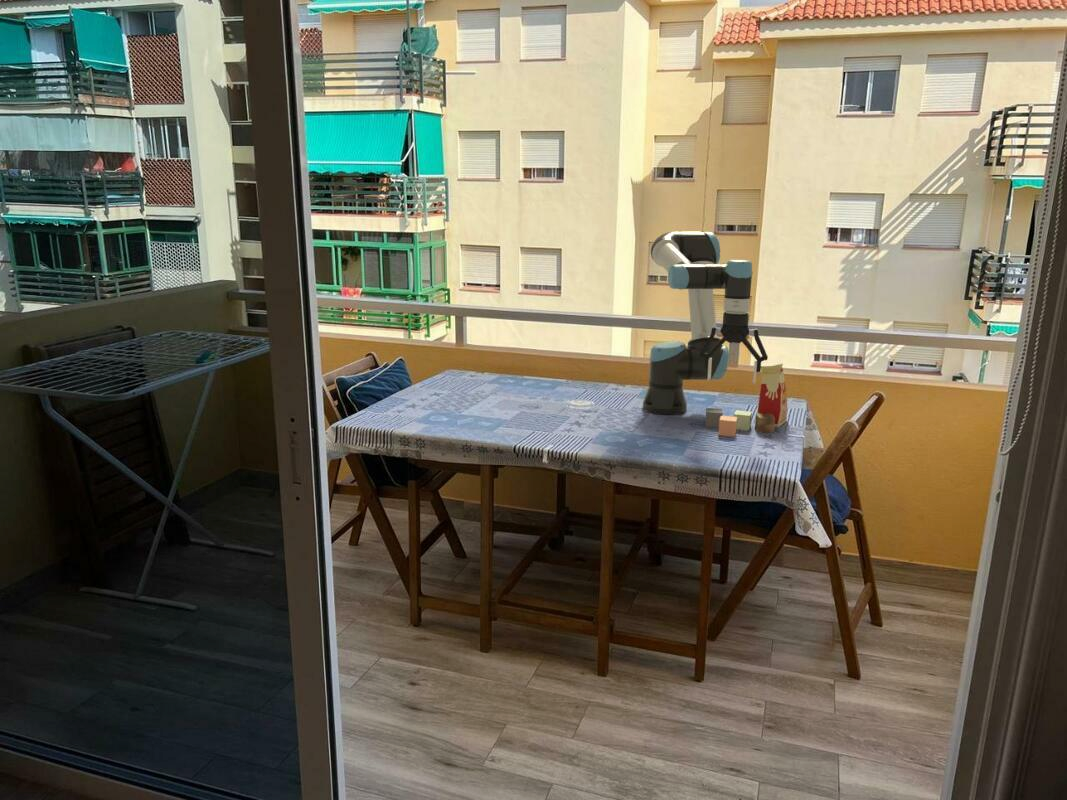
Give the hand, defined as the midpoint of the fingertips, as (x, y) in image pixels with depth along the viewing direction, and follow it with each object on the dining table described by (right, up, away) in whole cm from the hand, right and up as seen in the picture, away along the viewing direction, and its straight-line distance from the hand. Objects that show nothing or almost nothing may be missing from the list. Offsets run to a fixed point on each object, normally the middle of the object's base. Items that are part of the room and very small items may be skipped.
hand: (731, 380), depth 240 cm
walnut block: (+13, -16, +8) cm, 22 cm away
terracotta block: (0, -17, +5) cm, 17 cm away
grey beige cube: (-2, -14, +14) cm, 20 cm away
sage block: (+6, -15, +11) cm, 20 cm away
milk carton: (+17, -13, +18) cm, 28 cm away
